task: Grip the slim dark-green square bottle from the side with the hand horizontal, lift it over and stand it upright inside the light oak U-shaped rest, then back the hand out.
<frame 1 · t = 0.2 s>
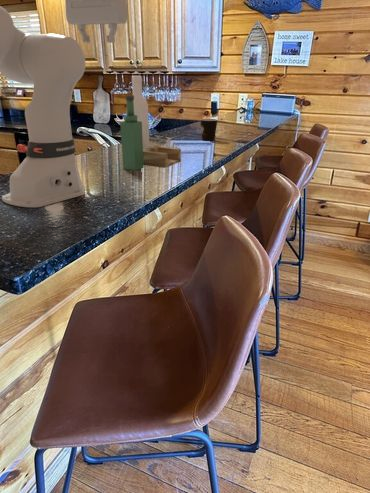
hand: (98, 42, 106), 39 cm above the table, tool pointing down, fingers open, 8 cm apart
green bottle: (133, 168, 129), on the table
coffee mug: (208, 140, 187), on the table
oak rest: (160, 163, 137), on the table
bottle: (140, 156, 149), on the table
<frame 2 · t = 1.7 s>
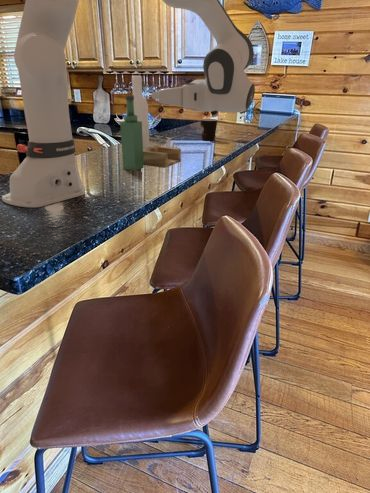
hand: (160, 94, 113), 25 cm above the table, tool horizontal, fingers open, 8 cm apart
nothing on the table moved.
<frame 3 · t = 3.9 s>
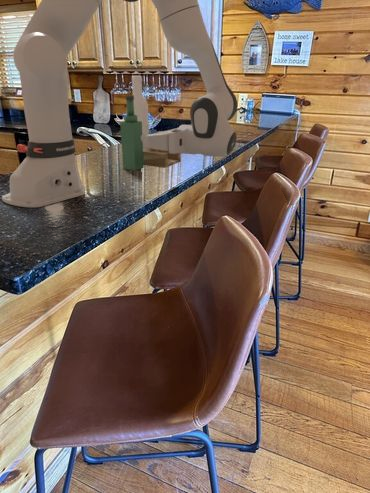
hand: (149, 135, 121), 12 cm above the table, tool horizontal, fingers open, 8 cm apart
nothing on the table moved.
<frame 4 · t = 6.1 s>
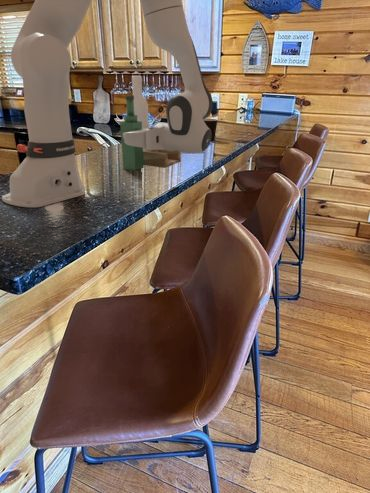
hand: (129, 133, 124), 12 cm above the table, tool horizontal, fingers closed on green bottle, 5 cm apart
green bottle: (133, 168, 129), on the table, touching gripper
everything else where it was.
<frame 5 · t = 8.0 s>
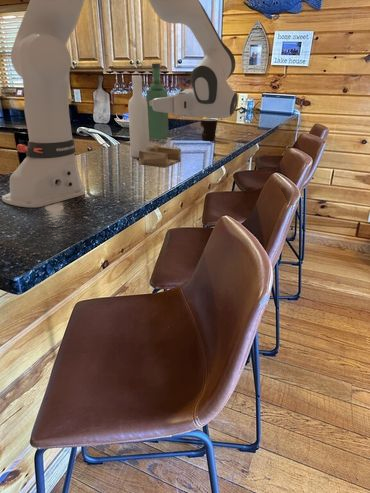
hand: (155, 102, 126), 22 cm above the table, tool horizontal, fingers closed on green bottle, 5 cm apart
green bottle: (159, 137, 131), point 10 cm above the table, touching gripper
everything else where it was.
when the fingers open (14 cm above the table, at t = 9.9 s): green bottle drops 1 cm, resting on oak rest.
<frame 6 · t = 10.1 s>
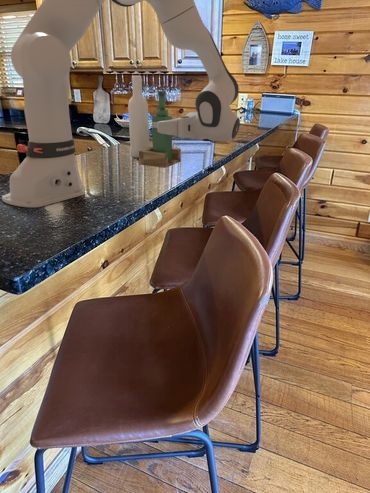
hand: (159, 123, 131), 14 cm above the table, tool horizontal, fingers open, 7 cm apart
green bottle: (162, 160, 136), point 1 cm above the table, touching oak rest
everything else where it was.
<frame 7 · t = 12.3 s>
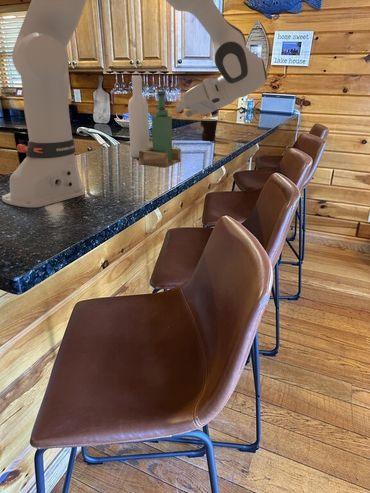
hand: (181, 112, 122), 19 cm above the table, tool tilted 65°, fingers open, 8 cm apart
nothing on the table moved.
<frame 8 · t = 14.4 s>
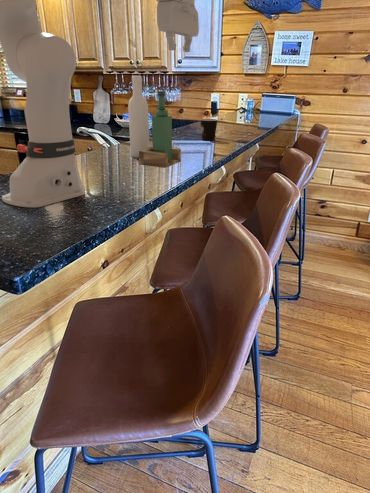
hand: (179, 51, 112), 37 cm above the table, tool pointing down, fingers open, 8 cm apart
nothing on the table moved.
at the end: green bottle inside the target area on the oak rest (0.2 cm from its centre), point 1.0 cm above the oak rest's base; green bottle tilted 0°; the gripper is holding nothing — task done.
